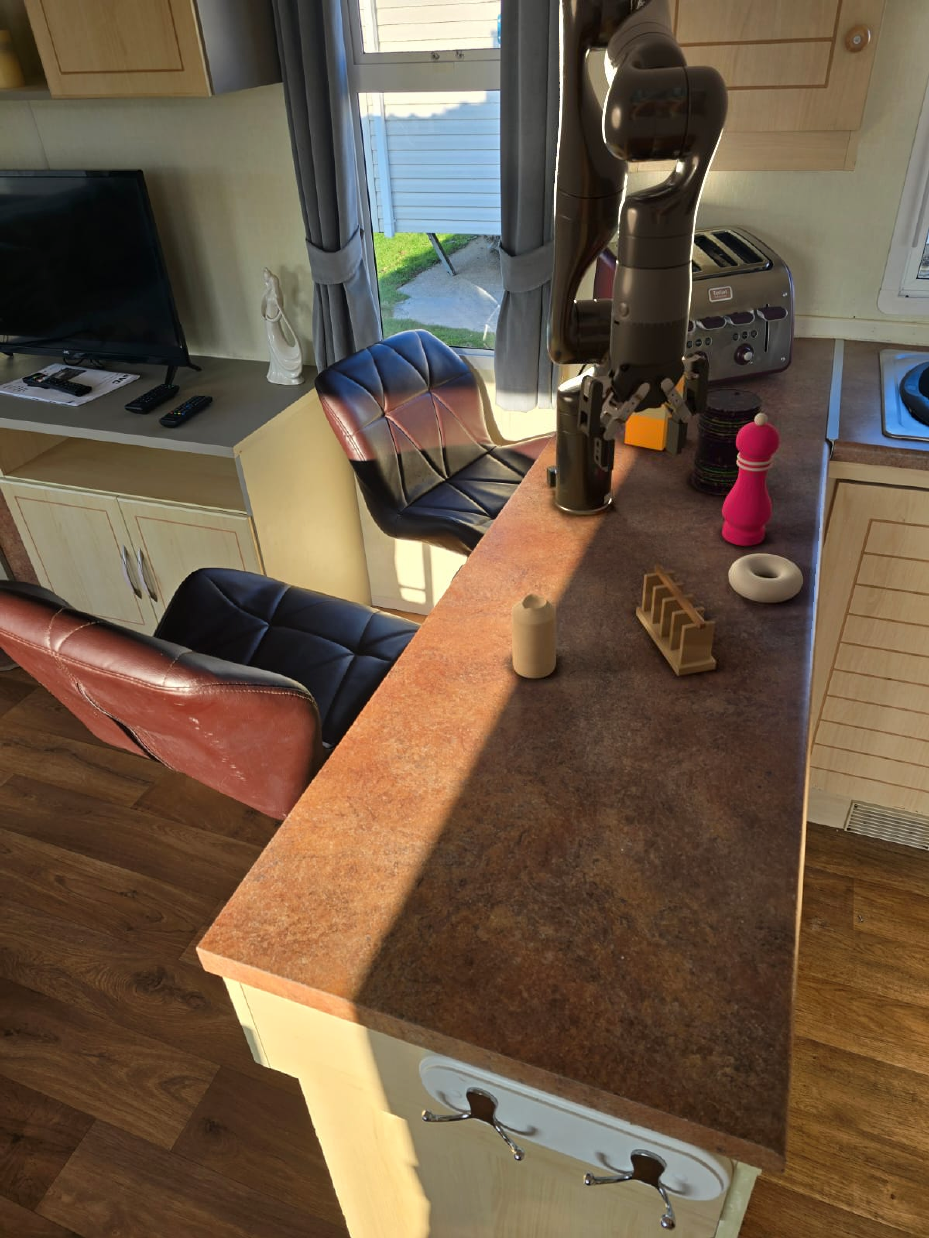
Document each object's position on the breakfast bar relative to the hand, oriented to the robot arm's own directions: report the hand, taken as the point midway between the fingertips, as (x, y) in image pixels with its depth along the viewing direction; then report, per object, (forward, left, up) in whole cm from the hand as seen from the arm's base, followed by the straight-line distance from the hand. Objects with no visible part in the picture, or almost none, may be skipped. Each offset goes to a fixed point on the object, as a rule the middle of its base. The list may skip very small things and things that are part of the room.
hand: (639, 460), depth 93 cm
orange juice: (-63, +29, -28) cm, 75 cm away
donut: (-10, +24, -28) cm, 38 cm away
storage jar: (-42, +33, -28) cm, 61 cm away
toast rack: (-2, +7, -28) cm, 29 cm away
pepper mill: (-24, +28, -28) cm, 47 cm away
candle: (-2, -12, -28) cm, 30 cm away
